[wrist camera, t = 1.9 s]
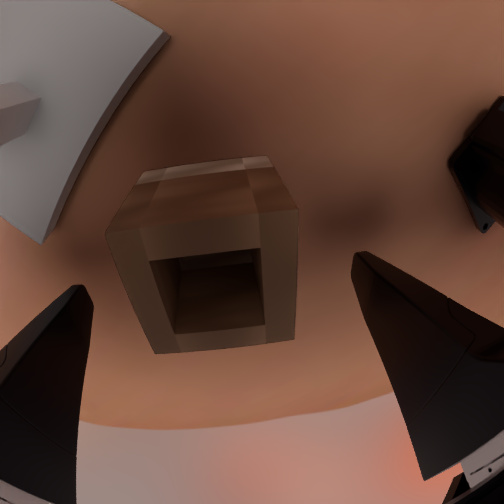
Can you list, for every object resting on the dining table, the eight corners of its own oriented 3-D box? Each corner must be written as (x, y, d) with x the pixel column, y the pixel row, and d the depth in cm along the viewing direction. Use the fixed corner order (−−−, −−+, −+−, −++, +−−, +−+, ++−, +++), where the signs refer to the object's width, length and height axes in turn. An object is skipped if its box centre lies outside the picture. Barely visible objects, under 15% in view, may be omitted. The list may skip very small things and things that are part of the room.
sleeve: (267, 155, 11) (298, 209, 7) (271, 258, 14) (294, 339, 10) (143, 171, 11) (104, 234, 7) (168, 270, 14) (154, 353, 10)
